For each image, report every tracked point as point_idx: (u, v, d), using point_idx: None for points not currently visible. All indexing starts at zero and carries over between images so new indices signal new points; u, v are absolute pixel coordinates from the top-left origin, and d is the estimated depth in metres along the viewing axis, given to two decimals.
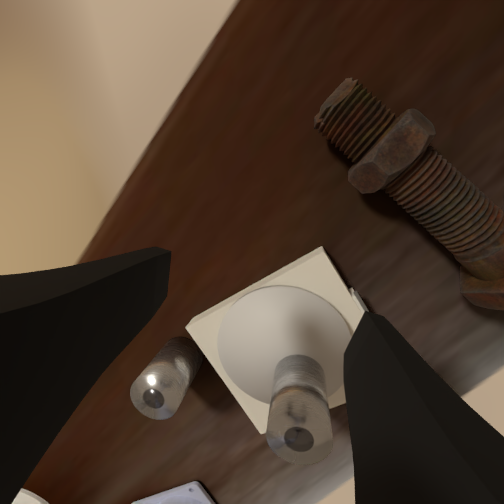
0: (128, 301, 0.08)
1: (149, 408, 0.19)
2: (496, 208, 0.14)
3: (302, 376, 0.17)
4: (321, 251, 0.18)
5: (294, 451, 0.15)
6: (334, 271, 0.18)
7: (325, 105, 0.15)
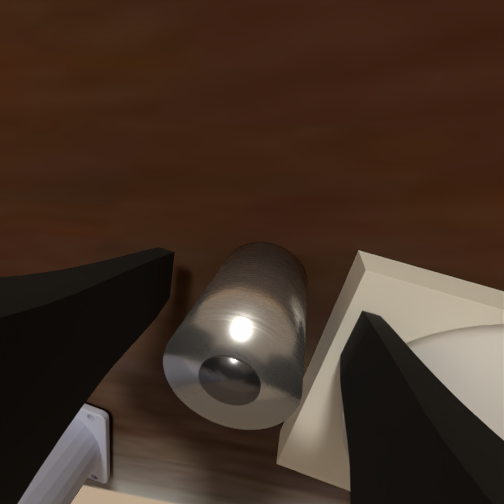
0: (131, 302, 0.08)
1: (194, 383, 0.07)
2: None
3: None
4: None
5: None
6: None
7: None
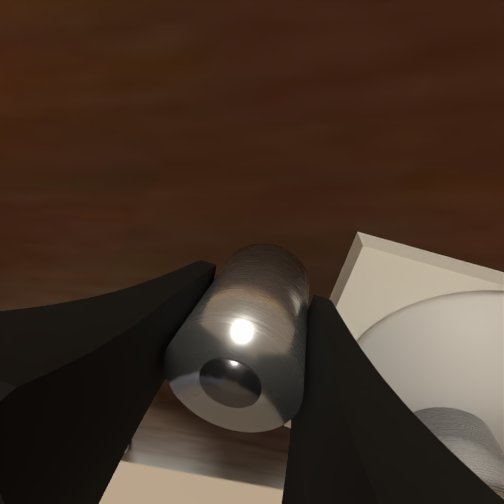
0: (182, 319, 0.08)
1: (195, 385, 0.07)
2: None
3: None
4: None
5: None
6: None
7: None
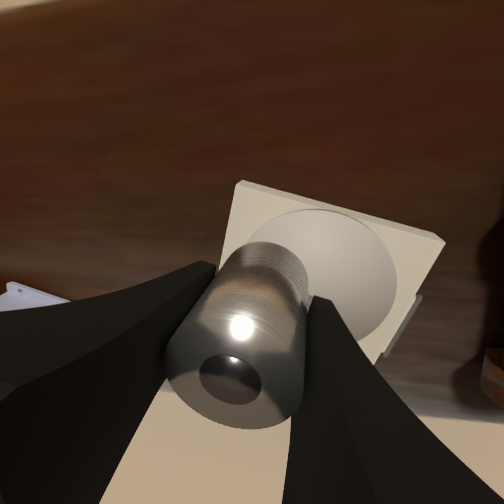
0: (182, 319, 0.08)
1: (195, 382, 0.07)
2: None
3: None
4: (440, 240, 0.15)
5: None
6: (429, 266, 0.15)
7: None
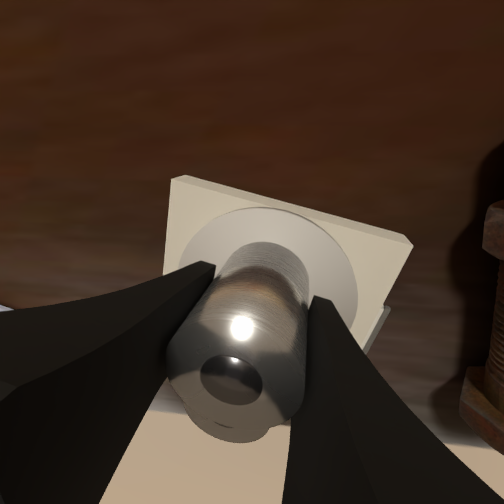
0: (182, 319, 0.08)
1: (196, 383, 0.07)
2: None
3: None
4: (408, 242, 0.13)
5: None
6: (396, 273, 0.13)
7: None
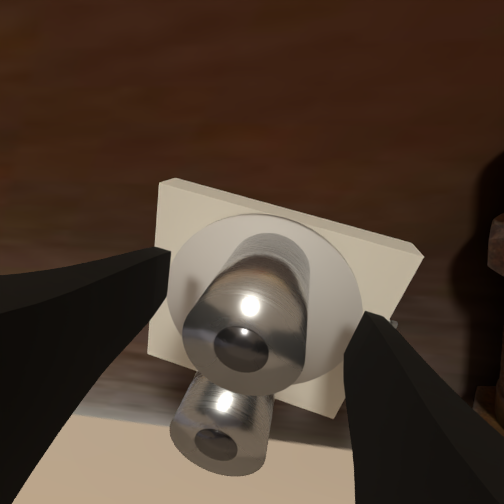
0: (128, 301, 0.08)
1: (209, 353, 0.08)
2: None
3: None
4: (417, 253, 0.12)
5: (196, 447, 0.10)
6: (404, 286, 0.12)
7: None
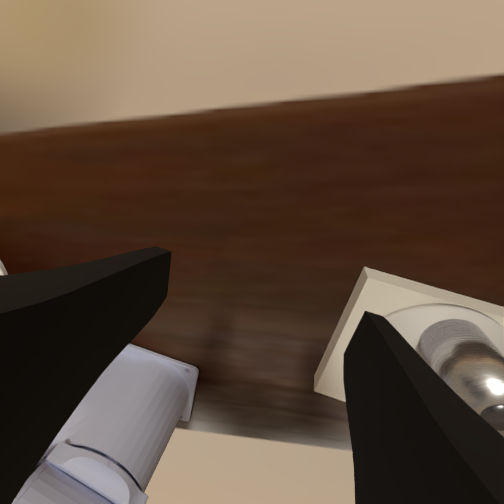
0: (128, 301, 0.08)
1: None
2: None
3: None
4: None
5: None
6: None
7: None
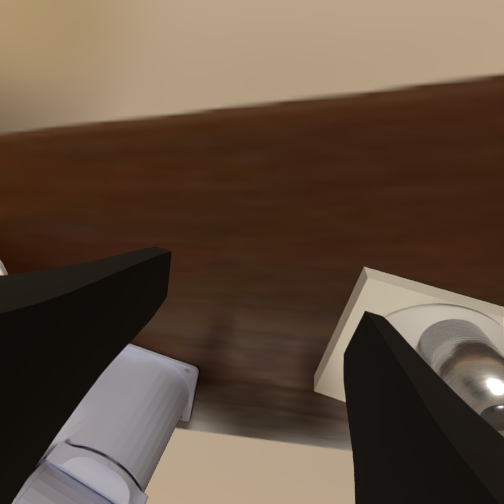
0: (128, 301, 0.08)
1: None
2: None
3: None
4: None
5: None
6: None
7: None
